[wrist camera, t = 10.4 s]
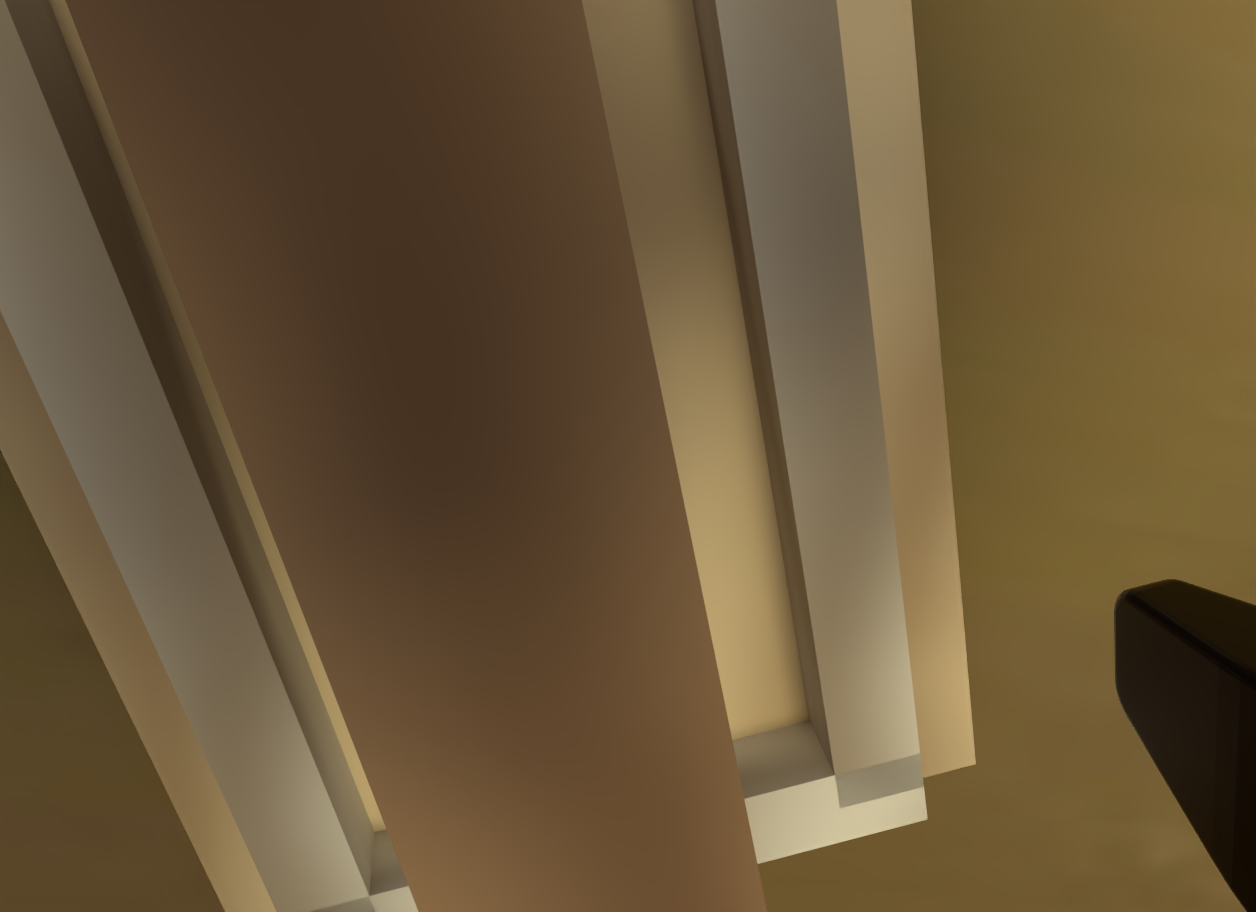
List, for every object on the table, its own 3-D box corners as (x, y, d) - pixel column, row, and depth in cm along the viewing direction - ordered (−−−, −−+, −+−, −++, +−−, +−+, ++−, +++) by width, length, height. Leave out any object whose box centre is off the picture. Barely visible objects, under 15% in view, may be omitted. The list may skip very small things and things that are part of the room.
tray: (254, 912, 22) (231, 1023, 20) (-322, -309, 13) (-478, -360, 11) (954, 731, 23) (1010, 819, 20) (835, -546, 14) (910, -640, 12)
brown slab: (456, 718, 20) (459, 1017, 14) (206, -28, 14) (62, -8, 9) (683, 661, 20) (771, 934, 14) (517, -97, 15) (558, -118, 9)
